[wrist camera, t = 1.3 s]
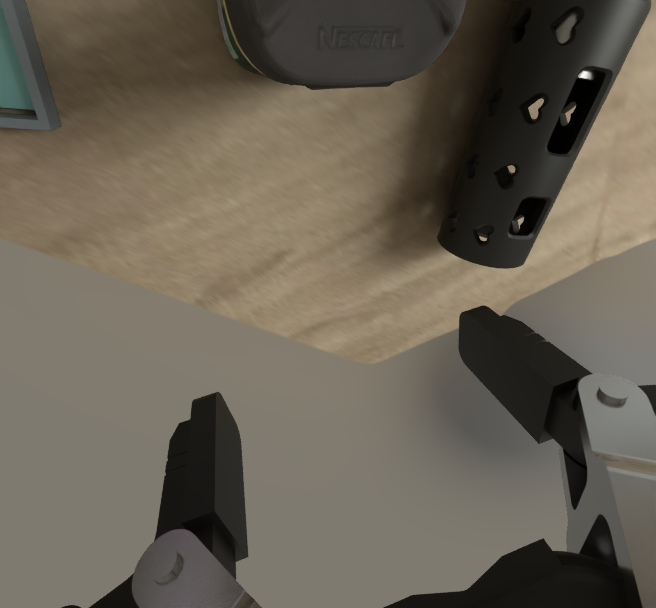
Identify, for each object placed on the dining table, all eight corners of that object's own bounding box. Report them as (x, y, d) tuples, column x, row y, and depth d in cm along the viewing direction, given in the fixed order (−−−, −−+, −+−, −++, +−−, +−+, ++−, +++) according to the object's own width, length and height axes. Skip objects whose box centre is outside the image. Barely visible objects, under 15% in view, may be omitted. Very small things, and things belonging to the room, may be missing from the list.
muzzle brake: (415, 227, 39) (467, 271, 31) (523, -153, 24) (680, -260, 16) (484, 229, 42) (548, 270, 34) (620, -111, 27) (796, -184, 19)
